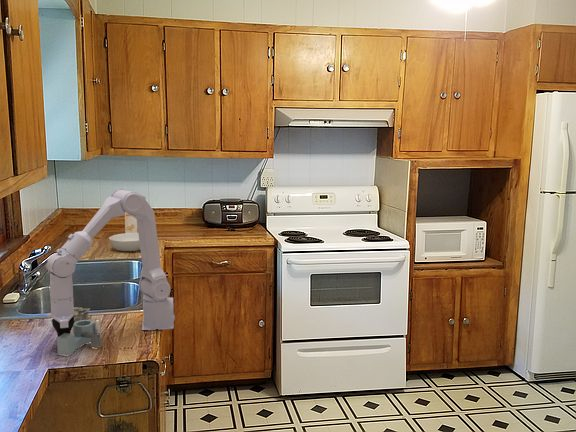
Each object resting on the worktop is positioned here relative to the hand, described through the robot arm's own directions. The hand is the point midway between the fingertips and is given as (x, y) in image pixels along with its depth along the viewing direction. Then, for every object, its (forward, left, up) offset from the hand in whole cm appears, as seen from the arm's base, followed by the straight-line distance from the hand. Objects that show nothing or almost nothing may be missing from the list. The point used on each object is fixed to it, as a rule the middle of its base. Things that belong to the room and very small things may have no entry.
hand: (64, 344), depth 150 cm
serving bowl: (-12, -125, -1) cm, 125 cm away
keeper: (-7, +1, -1) cm, 7 cm away
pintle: (-9, -4, -1) cm, 9 cm away
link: (-3, 0, -1) cm, 3 cm away
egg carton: (+2, -24, -2) cm, 24 cm away
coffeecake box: (-13, -152, -1) cm, 152 cm away
